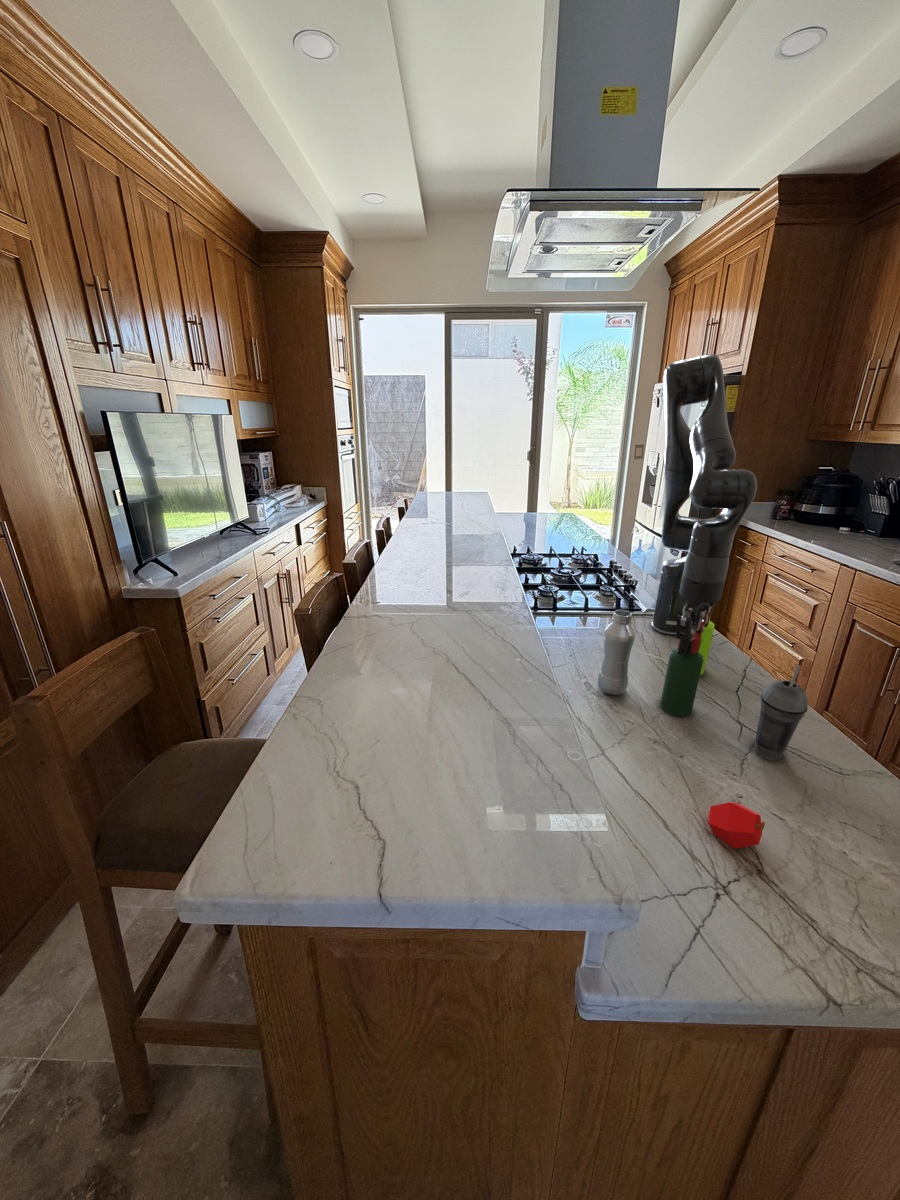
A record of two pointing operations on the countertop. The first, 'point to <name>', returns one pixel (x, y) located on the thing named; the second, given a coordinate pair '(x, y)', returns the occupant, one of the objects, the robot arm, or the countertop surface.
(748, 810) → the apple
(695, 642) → the cap
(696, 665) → the oil bottle
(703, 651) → the soap dispenser
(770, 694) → the beverage cup
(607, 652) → the plastic bottle
